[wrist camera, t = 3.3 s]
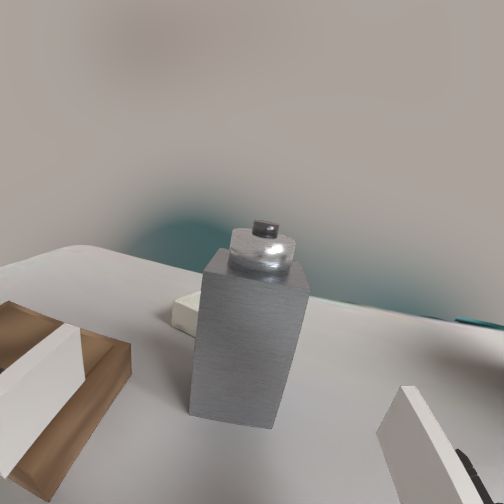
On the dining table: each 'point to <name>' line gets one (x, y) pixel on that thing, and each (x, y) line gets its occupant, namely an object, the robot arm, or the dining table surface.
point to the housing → (247, 327)
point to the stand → (76, 408)
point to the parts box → (186, 313)
